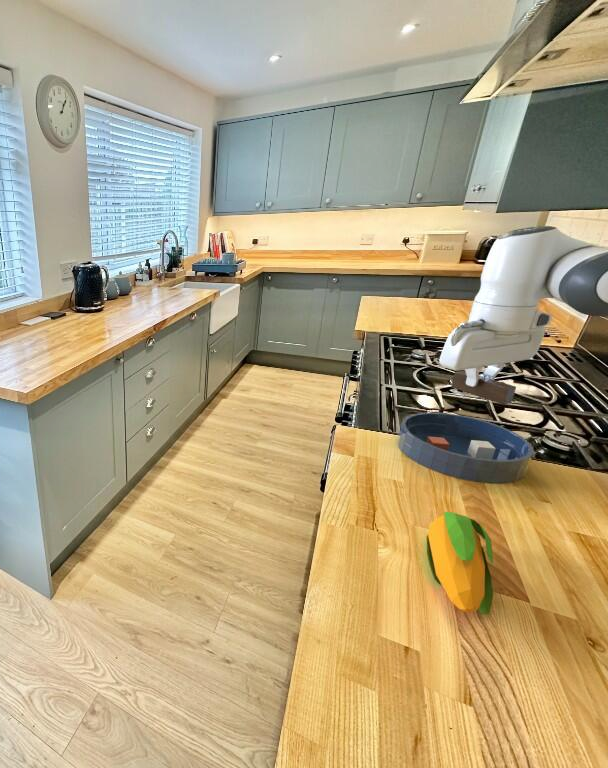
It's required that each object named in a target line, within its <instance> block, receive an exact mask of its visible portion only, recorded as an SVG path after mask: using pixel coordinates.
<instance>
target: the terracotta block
mask: <svg viewBox="0 0 608 768" xmlns="http://www.w3.org/2000/svg"><path fill="white" fill-rule="evenodd" d="M426 443H428V444H430V445H433V446H435V447H437V448H440V449H443V450H446V451H448V448H449V445H450V444H449V443H448V442H447V441H446V440H445V439H444V438H440V437H429V436H428V437H427V441H426Z"/></svg>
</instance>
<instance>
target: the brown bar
mask: <svg viewBox="0 0 608 768" xmlns="http://www.w3.org/2000/svg"><path fill="white" fill-rule="evenodd" d="M479 377H480V378H482V380H481V384H480V385H479V386H474V387H472V386H469V385H467V384H466V379H467V374H466V371H465V370H458V371H454V374H453V378H452V381H451V385H450V387H451V388H452V389H455V390H459V391H461V392H463V393H466V394H467V393H468V394H471V395H472V396H476V397H478V398H482V399H485V400H488V401H491V402H493V403H497V404H499V405H502V406H504V405H510V404H512V402H513V400H514V396H515V392H516V389H517V386H516V385H512V384H508V383H505V382H502V381H498V380H495V379H494V380H492V379H489V378H485V377H482V376H480V375H479Z"/></svg>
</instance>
